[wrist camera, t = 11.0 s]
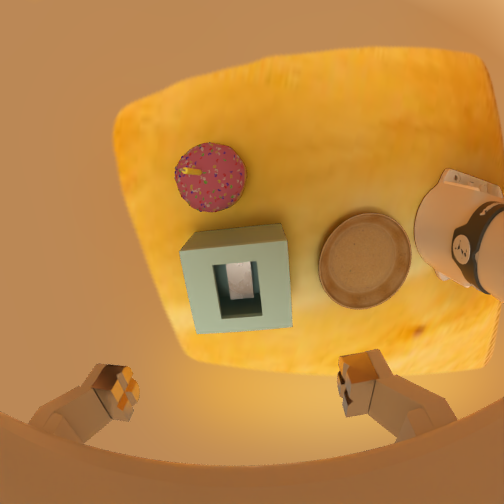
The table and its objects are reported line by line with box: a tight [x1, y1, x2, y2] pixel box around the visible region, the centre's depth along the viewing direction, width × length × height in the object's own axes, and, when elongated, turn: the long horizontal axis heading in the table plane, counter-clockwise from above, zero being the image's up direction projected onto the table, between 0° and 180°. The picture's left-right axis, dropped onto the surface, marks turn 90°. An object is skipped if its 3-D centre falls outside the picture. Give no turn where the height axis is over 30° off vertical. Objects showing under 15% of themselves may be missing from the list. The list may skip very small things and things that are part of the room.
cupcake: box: [175, 142, 247, 212], centre depth 32 cm, size 9×8×12 cm
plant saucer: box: [319, 213, 412, 309], centre depth 40 cm, size 15×15×3 cm
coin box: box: [179, 223, 293, 334], centre depth 37 cm, size 12×11×9 cm
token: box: [226, 262, 254, 299], centre depth 38 cm, size 3×5×5 cm, turn 6°
